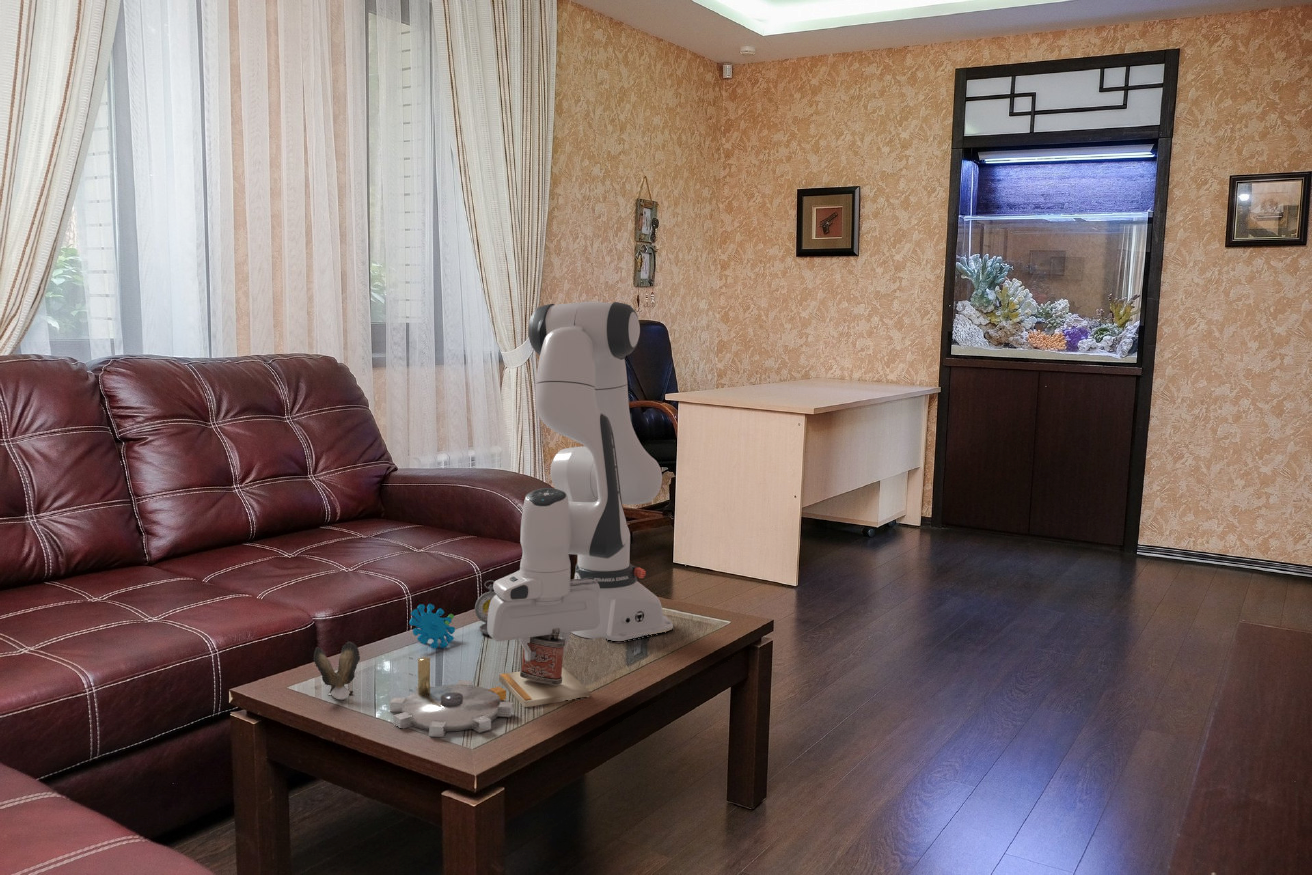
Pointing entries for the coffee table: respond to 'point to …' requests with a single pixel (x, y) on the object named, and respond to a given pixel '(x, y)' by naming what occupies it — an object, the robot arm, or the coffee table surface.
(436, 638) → the gear
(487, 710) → the sprocket
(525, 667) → the lighter
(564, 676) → the pad
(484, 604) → the pocket watch
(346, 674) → the eagle figurine
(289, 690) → the coffee table surface
